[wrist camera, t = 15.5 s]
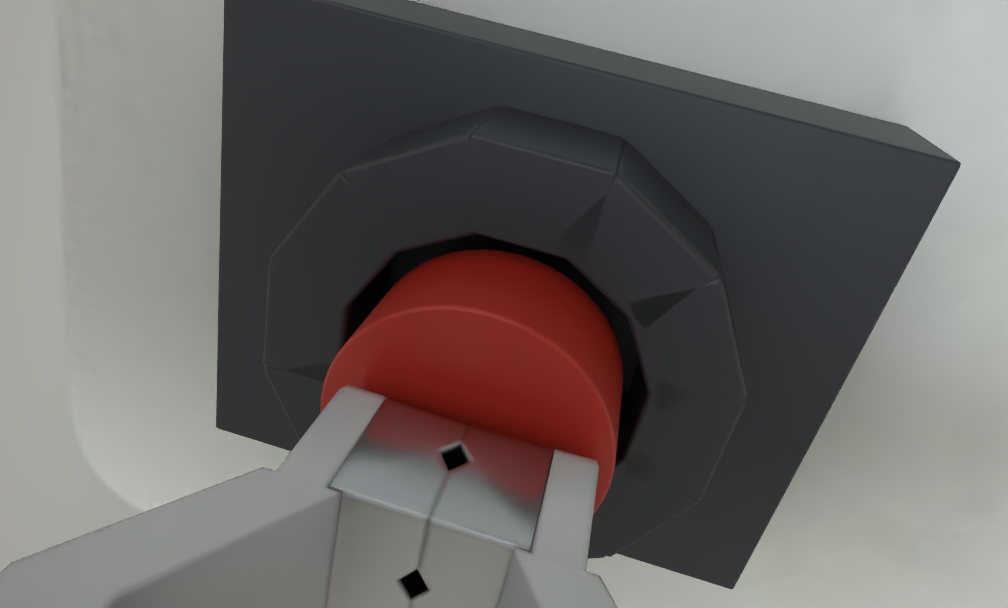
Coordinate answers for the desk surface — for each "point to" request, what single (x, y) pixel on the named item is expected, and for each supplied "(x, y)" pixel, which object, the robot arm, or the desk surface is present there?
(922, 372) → the desk surface
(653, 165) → the grey button base
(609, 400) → the bell button
